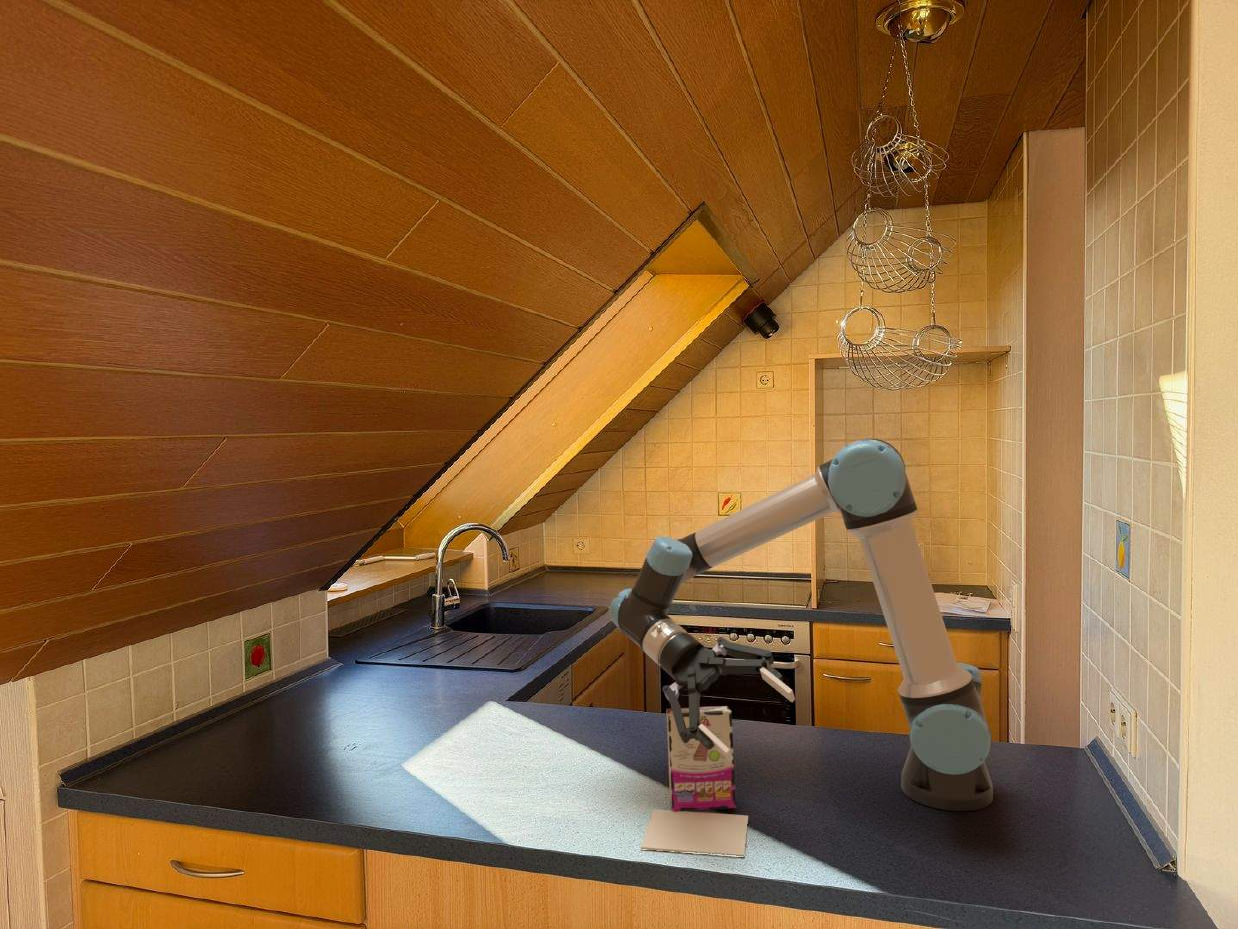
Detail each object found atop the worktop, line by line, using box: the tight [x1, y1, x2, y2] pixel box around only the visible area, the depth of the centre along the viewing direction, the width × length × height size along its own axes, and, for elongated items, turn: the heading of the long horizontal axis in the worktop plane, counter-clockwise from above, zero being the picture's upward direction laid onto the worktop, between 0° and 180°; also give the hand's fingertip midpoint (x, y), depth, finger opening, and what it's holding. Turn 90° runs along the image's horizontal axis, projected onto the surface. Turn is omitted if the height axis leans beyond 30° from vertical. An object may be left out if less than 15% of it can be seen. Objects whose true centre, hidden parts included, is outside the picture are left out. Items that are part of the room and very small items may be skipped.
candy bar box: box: [666, 705, 737, 812], centre depth 146 cm, size 11×5×16 cm, turn 92°
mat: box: [640, 808, 749, 856], centre depth 136 cm, size 13×16×1 cm
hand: (761, 725), depth 130 cm, fingers open, 13 cm apart
